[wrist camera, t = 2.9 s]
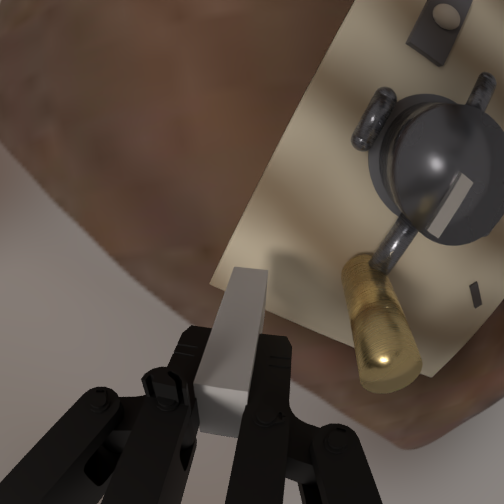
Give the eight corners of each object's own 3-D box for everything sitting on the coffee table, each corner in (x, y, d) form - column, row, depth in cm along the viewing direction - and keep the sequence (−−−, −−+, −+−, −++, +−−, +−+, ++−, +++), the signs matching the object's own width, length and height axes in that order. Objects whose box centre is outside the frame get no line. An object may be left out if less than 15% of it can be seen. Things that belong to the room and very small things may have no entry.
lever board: (391, -63, 9) (408, -89, 6) (580, 113, 11) (611, 122, 8) (216, 267, 20) (202, 299, 17) (425, 359, 22) (436, 392, 19)
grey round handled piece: (408, 19, 10) (483, -26, 4) (531, 128, 11) (620, 159, 5) (277, 256, 16) (265, 353, 10) (408, 320, 17) (441, 412, 11)
